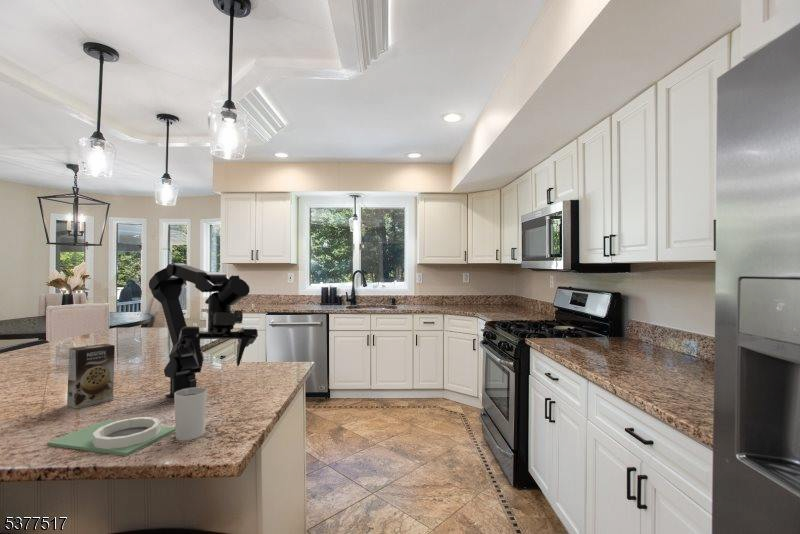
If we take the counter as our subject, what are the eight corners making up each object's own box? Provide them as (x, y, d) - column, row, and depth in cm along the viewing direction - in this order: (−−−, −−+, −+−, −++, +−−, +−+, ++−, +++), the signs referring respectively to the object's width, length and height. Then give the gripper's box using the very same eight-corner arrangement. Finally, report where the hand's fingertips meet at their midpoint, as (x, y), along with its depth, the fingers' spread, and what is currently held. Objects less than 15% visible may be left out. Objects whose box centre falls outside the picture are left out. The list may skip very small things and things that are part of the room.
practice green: (47, 445, 82) (47, 433, 82) (105, 422, 94) (105, 411, 94) (126, 455, 77) (126, 443, 77) (177, 430, 90) (177, 419, 90)
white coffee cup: (192, 442, 83) (193, 396, 84) (166, 440, 85) (167, 395, 85) (212, 430, 90) (213, 388, 90) (187, 428, 91) (188, 386, 91)
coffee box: (75, 409, 103) (76, 350, 103) (66, 405, 106) (67, 347, 107) (114, 400, 111) (115, 344, 111) (105, 396, 114) (106, 342, 114)
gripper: (186, 296, 95) (183, 355, 88) (261, 300, 106) (265, 353, 98) (179, 316, 103) (176, 372, 95) (251, 318, 113) (253, 368, 106)
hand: (219, 366), depth 98 cm, fingers open, 9 cm apart
